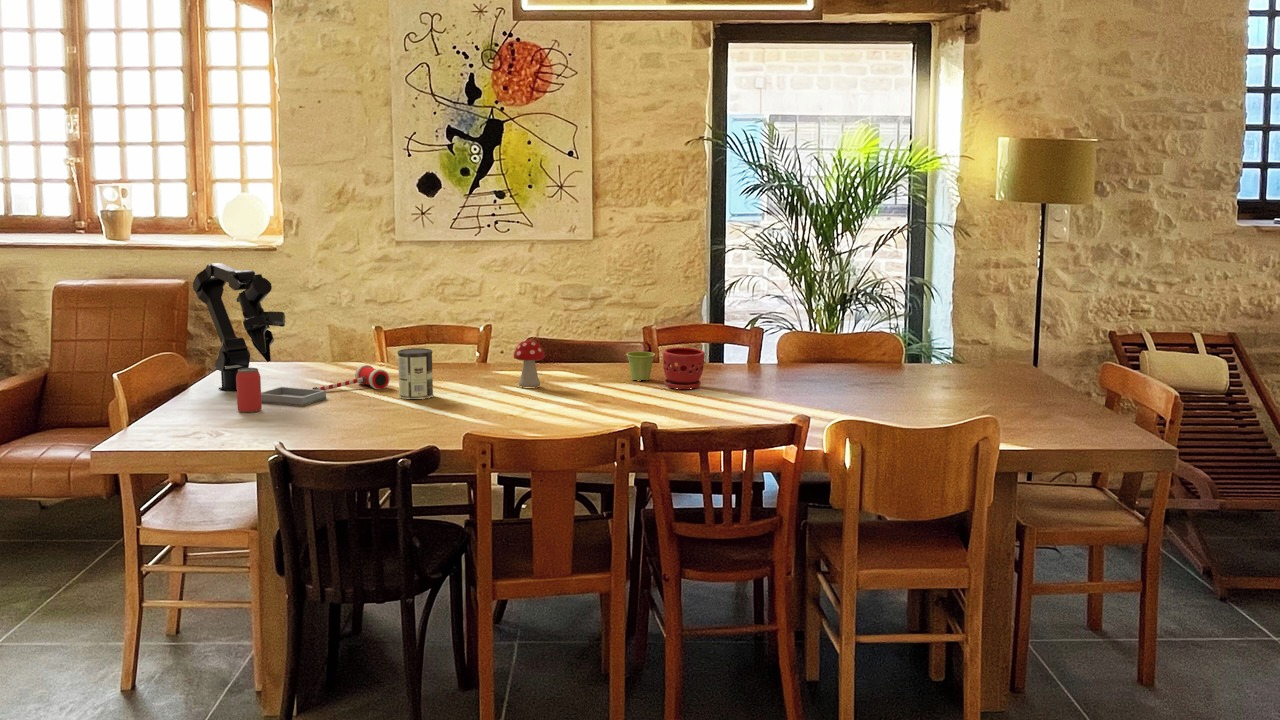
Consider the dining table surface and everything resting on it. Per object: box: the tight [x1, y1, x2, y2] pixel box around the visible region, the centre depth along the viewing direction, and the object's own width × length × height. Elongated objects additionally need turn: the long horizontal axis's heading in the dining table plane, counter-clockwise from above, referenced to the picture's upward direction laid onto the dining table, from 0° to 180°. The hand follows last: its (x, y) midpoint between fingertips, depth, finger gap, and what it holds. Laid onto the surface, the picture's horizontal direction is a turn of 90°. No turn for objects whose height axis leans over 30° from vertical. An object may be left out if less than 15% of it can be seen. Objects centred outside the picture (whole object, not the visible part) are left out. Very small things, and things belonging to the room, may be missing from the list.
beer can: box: [236, 367, 263, 414], centre depth 363 cm, size 7×7×12 cm
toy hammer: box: [311, 364, 391, 391], centre depth 397 cm, size 23×12×6 cm, turn 127°
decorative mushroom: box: [513, 339, 546, 387], centre depth 401 cm, size 10×9×15 cm
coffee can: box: [397, 347, 434, 400], centre depth 385 cm, size 10×10×14 cm
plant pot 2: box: [662, 346, 706, 389], centre depth 403 cm, size 13×13×12 cm
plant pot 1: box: [625, 351, 656, 382], centre depth 416 cm, size 9×9×9 cm
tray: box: [261, 386, 327, 407], centre depth 379 cm, size 16×12×2 cm
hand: (266, 357), depth 377 cm, fingers open, 9 cm apart
